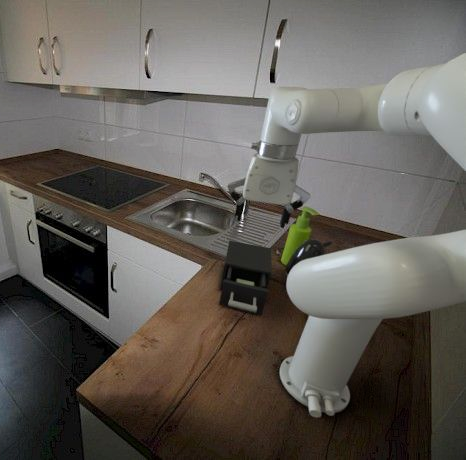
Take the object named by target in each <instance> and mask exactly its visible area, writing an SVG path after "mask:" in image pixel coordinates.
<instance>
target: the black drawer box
mask: <svg viewBox="0 0 466 460" xmlns="http://www.w3.org/2000/svg"><path fill="white" fill-rule="evenodd" d="M227 245H228V246H227V250H226V255H225V260H224V266H223V271H222V276H221V279H220V286H219V291H222V287H223V281H224V279H225V280H226V279H227V274H228V269H229V266H231V267H236V268H241V269H245V270H250V271H255V272H259V273H264V274H266V286H265V289H269V284H270V279H271V277H272V274H273V268H272V267H273V266H272V247H266V246H261V245H255V244H250V243H245V242H238V241H235V240H234V241H233V240H229V241H228V244H227Z"/></svg>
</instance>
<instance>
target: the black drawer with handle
mask: <svg viewBox="0 0 466 460" xmlns="http://www.w3.org/2000/svg"><path fill="white" fill-rule="evenodd" d="M237 279H241V280H246V281H250V282H254V286H252V285H247V284H243V283H239V282H236V280H237ZM265 286H266V274H264V273H259V272H255V271H250V270H245V269H241V268H236V267H231V266H229V269H228V274H227V279H226V280H225V279H224V281H223V287H222V290H221V292H220V297H219V303H218V305H219V306H221V307H222V306H223V307H226V308H229V309H234V310H238V311H242V312H246V313H250V314H253V315H256V316H257V315H258V316H260V317H261V316H263V313H264V311H265V307H266V303H267V300H268V296H269V293H270V289H269V288H267V289H265Z"/></svg>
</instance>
